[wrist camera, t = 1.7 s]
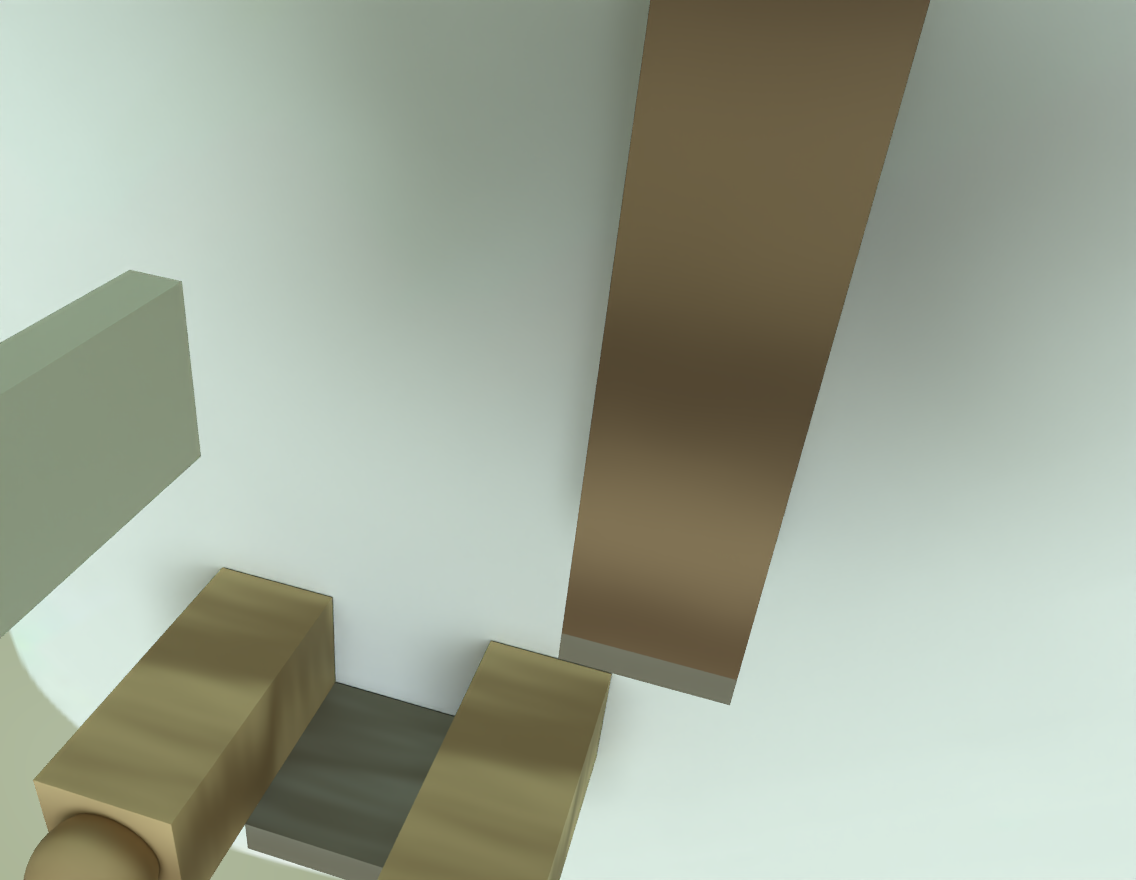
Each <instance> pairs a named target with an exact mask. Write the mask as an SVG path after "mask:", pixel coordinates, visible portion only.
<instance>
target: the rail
mask: <svg viewBox="0 0 1136 880" xmlns="http://www.w3.org/2000/svg"><path fill="white" fill-rule="evenodd" d="M929 3H930V0H650V7H649V14H648V21H647V28H646V35H645V42H644V50H643V57H642V64H641V71H640V78H639V85H638V92H637V100H636V107H635V114H634V121H633V128H632V135H631V142H630V150H629V157H628V164H627V171H626V178H625V185H624V192H623V200H622V207H621V214H620V221H619V228H618V235H617V242H616V250H615V257H614V264H613V271H612V278H611V285H610V292H609V300H608V307H607V314H606V321H605V328H604V335H603V342H602V350H601V357H600V364H599V371H598V378H597V385H596V392H595V400H594V407H593V414H592V421H591V428H590V435H589V442H588V450H587V457H586V464H585V471H584V478H583V485H582V492H581V500H580V507H579V514H578V521H577V528H576V535H575V543H574V550H573V557H572V564H571V571H570V578H569V585H568V593H567V600H566V607H565V614H564V621H563V628H562V635H561V643H560V650H559V657H558V658H559V659H562V660H566V661H570V662H573V663H577V664H581V665H584V666H588V667H592V668H595V669H599V670H603V671H606V672H610V673H614V674H617V675H621V676H625V677H628V678H632V679H636V680H639V681H643V682H647V683H650V684H654V685H658V686H661V687H665V688H669V689H672V690H676V691H680V692H683V693H687V694H691V695H694V696H698V697H702V698H705V699H709V700H713V701H716V702H720V703H724V704H727V705H730V703H731V699H732V696H733V692H734V689H735V685H736V681H737V678H738V674H739V671H740V667H741V664H742V660H743V657H744V653H745V650H746V646H747V643H748V639H749V636H750V632H751V629H752V625H753V622H754V618H755V615H756V611H757V608H758V604H759V601H760V597H761V594H762V590H763V587H764V583H765V579H766V576H767V572H768V569H769V565H770V562H771V558H772V555H773V551H774V548H775V544H776V541H777V537H778V534H779V530H780V527H781V523H782V520H783V516H784V513H785V509H786V506H787V502H788V499H789V495H790V492H791V488H792V484H793V481H794V477H795V474H796V470H797V467H798V463H799V460H800V456H801V453H802V449H803V446H804V442H805V439H806V435H807V432H808V428H809V425H810V421H811V418H812V414H813V411H814V407H815V404H816V400H817V397H818V393H819V390H820V386H821V382H822V379H823V375H824V372H825V368H826V365H827V361H828V358H829V354H830V351H831V347H832V344H833V340H834V337H835V333H836V330H837V326H838V323H839V319H840V316H841V312H842V309H843V305H844V302H845V298H846V295H847V291H848V288H849V284H850V280H851V277H852V273H853V270H854V266H855V263H856V259H857V256H858V252H859V249H860V245H861V242H862V238H863V235H864V231H865V228H866V224H867V221H868V217H869V214H870V210H871V207H872V203H873V200H874V196H875V193H876V189H877V185H878V182H879V178H880V175H881V171H882V168H883V164H884V161H885V157H886V154H887V150H888V147H889V143H890V140H891V136H892V133H893V129H894V126H895V122H896V119H897V115H898V112H899V108H900V105H901V101H902V98H903V94H904V91H905V87H906V83H907V80H908V76H909V73H910V69H911V66H912V62H913V59H914V55H915V52H916V48H917V45H918V41H919V38H920V34H921V31H922V27H923V24H924V20H925V17H926V13H927V10H928V6H929Z"/></svg>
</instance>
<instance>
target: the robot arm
mask: <svg viewBox="0 0 1136 880" xmlns="http://www.w3.org/2000/svg"><path fill="white" fill-rule="evenodd" d="M199 457H201V453H200V444H199V435H198V426H197V417H196V407H195V398H194V389H193V380H192V371H191V361H190V352H189V343H188V334H187V325H186V315H185V306H184V297H183V288H182V281H178V280H173V279H169V278H164V277H160V276H155V275H151V274H146V273H142V272H137V271H132V270H128V271H127V272H125V273H123V274H121V275H120V276H118V277H116V278H114V279H113V280H111V281H109V282H107V283H105V284H104V285H102V286H100V287H98V288H97V289H95V290H93V291H91V292H89V293H88V294H86V295H84V296H82V297H81V298H79V299H77V300H75V301H74V302H72V303H70V304H68V305H66V306H65V307H63V308H61V309H59V310H58V311H56V312H54V313H52V314H50V315H49V316H47V317H45V318H43V319H42V320H40V321H38V322H36V323H35V324H33V325H31V326H29V327H27V328H26V329H24V330H22V331H20V332H19V333H17V334H15V335H13V336H11V337H10V338H8V339H6V340H4V341H3V342H1V343H0V638H1V637H2V636H3V635H4V634H5V633H6V632H8V631H9V630H10V629H11V628H12V627H13V626H14V625H15V624H16V623H18V622H19V621H20V620H21V619H22V618H23V617H24V616H25V615H26V614H28V613H29V612H30V611H31V610H32V609H33V608H34V607H35V606H36V605H37V604H39V603H40V602H41V601H42V600H43V599H44V598H45V597H46V596H47V595H48V594H50V593H51V592H52V591H53V590H54V589H55V588H56V587H57V586H58V585H59V584H61V583H62V582H63V581H64V580H65V579H66V578H67V577H68V576H69V575H70V574H72V573H73V572H74V571H75V570H76V569H77V568H78V567H79V566H80V565H82V564H83V563H84V562H85V561H86V560H87V559H88V558H89V557H90V556H91V555H93V554H94V553H95V552H96V551H97V550H98V549H99V548H100V547H101V546H102V545H104V544H105V543H106V542H107V541H108V540H109V539H110V538H111V537H112V536H113V535H115V534H116V533H117V532H118V531H119V530H120V529H121V528H122V527H123V526H125V525H126V524H127V523H128V522H129V521H130V520H131V519H132V518H133V517H134V516H136V515H137V514H138V513H139V512H140V511H141V510H142V509H143V508H144V507H145V506H147V505H148V504H149V503H150V502H151V501H152V500H153V499H154V498H155V497H156V496H158V495H159V494H160V493H161V492H162V491H163V490H164V489H165V488H166V487H167V486H169V485H170V484H171V483H172V482H173V481H174V480H175V479H176V478H177V477H179V476H180V475H181V474H182V473H183V472H184V471H185V470H186V469H187V468H188V467H190V466H191V465H192V464H193V463H194V462H195V461H196V460H197V459H198V458H199Z"/></svg>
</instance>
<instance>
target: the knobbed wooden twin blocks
mask: <svg viewBox="0 0 1136 880" xmlns="http://www.w3.org/2000/svg"><path fill="white" fill-rule="evenodd" d="M611 675H612V674H610V673H606V672H602V671H599V670H595V669H592V668H588V667H584V666H581V665H577V664H573V663H570V662H566V661H562V660H559V659H555V658H551V657H548V656H544V655H540V654H537V653H533V652H529V651H526V650H522V649H518V648H515V647H511V646H507V645H504V644H500V643H496V642H493V641H491V642H490V644H489V646H488V648H487V650H486V652H485V654H484V656H483V658H482V660H481V663H480V665H479V667H478V669H477V671H476V673H475V675H474V677H473V679H472V681H471V684H470V686H469V688H468V690H467V692H466V694H465V696H464V698H463V700H462V703H461V705H460V707H459V709H458V711H457V713H456V715H455V717H453V716H450V715H447V714H443V713H440V712H436V711H433V710H429V709H426V708H422V707H419V706H415V705H412V704H408V703H405V702H401V701H398V700H394V699H391V698H388V697H384V696H381V695H377V694H374V693H370V692H367V691H363V690H360V689H356V688H353V687H349V686H346V685H342V684H339V683H335V663H334V633H333V604H332V597H328V596H324V595H321V594H317V593H313V592H310V591H306V590H302V589H299V588H295V587H291V586H288V585H284V584H280V583H277V582H273V581H269V580H266V579H262V578H259V577H255V576H251V575H248V574H244V573H240V572H237V571H233V570H229V569H226V568H222V569H221V570H220V571H219V572H218V573H217V574H216V575H215V576H214V578H213V579H212V580H211V581H210V582H209V583H208V584H207V585H206V587H205V588H204V589H203V590H202V591H201V592H200V593H199V594H198V596H197V597H196V598H195V599H194V600H193V601H192V602H191V603H190V604H189V606H188V607H187V608H186V609H185V610H184V611H183V612H182V613H181V615H180V616H179V617H178V618H177V619H176V620H175V621H174V622H173V624H172V625H171V626H170V627H169V628H168V629H167V630H166V631H165V633H164V634H163V635H162V636H161V637H160V638H159V639H158V640H157V642H156V643H155V644H154V645H153V646H152V647H151V648H150V649H149V651H148V652H147V653H146V654H145V655H144V656H143V657H142V658H141V659H140V661H139V662H138V663H137V664H136V665H135V666H134V667H133V668H132V670H131V671H130V672H129V673H128V674H127V675H126V676H125V677H124V679H123V680H122V681H121V682H120V683H119V684H118V685H117V686H116V688H115V689H114V690H113V691H112V692H111V693H110V694H109V695H108V697H107V698H106V699H105V700H104V701H103V702H102V703H101V704H100V706H99V707H98V708H97V709H96V710H95V711H94V712H93V713H92V714H91V716H90V717H89V718H88V719H87V720H86V721H85V722H84V723H83V725H82V726H81V727H80V728H79V729H78V730H77V731H76V732H75V734H74V735H73V736H72V737H71V738H70V739H69V740H68V741H67V743H66V744H65V745H64V746H63V747H62V748H61V749H60V750H59V752H58V753H57V754H56V755H55V756H54V757H53V758H52V759H51V760H50V762H49V763H48V764H47V765H46V766H45V767H44V768H43V770H42V771H41V772H40V773H39V774H38V775H37V776H36V777H35V779H34V780H33V781H34V785H35V788H36V791H37V795H38V798H39V801H40V805H41V808H42V811H43V815H44V818H45V822H46V825H47V828H48V831H49V833H48V834H47V835H46V836H45V837H44V838H43V839H42V840H41V842H40V843H39V844H38V846H37V847H36V848H35V850H34V852H33V854H32V856H31V858H30V860H29V862H28V865H27V867H26V871H25V875H24V880H210V878H211V877H212V875H213V874H214V872H215V870H216V869H217V867H218V866H219V864H220V862H221V861H222V859H223V858H224V856H225V855H226V853H227V852H228V850H229V849H230V847H231V845H232V844H233V842H234V841H235V839H236V838H237V836H238V834H239V833H240V831H241V830H242V828H243V827H244V825H245V827H246V836H247V844H248V848H249V849H252V850H255V851H258V852H261V853H265V854H268V855H271V856H274V857H277V858H280V859H283V860H286V861H289V862H293V863H296V864H299V865H302V866H305V867H308V868H311V869H314V870H317V871H320V872H324V873H327V874H330V875H333V876H336V877H339V878H342V879H345V880H560V877H561V873H562V870H563V867H564V863H565V860H566V857H567V853H568V850H569V847H570V843H571V840H572V837H573V833H574V830H575V827H576V823H577V820H578V817H579V813H580V810H581V807H582V803H583V800H584V797H585V793H586V790H587V787H588V783H589V780H590V777H591V773H592V770H593V767H594V763H595V760H596V756H597V751H598V745H599V740H600V734H601V729H602V724H603V718H604V713H605V707H606V702H607V697H608V691H609V686H610V680H611ZM257 804H258V805H257Z"/></svg>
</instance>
